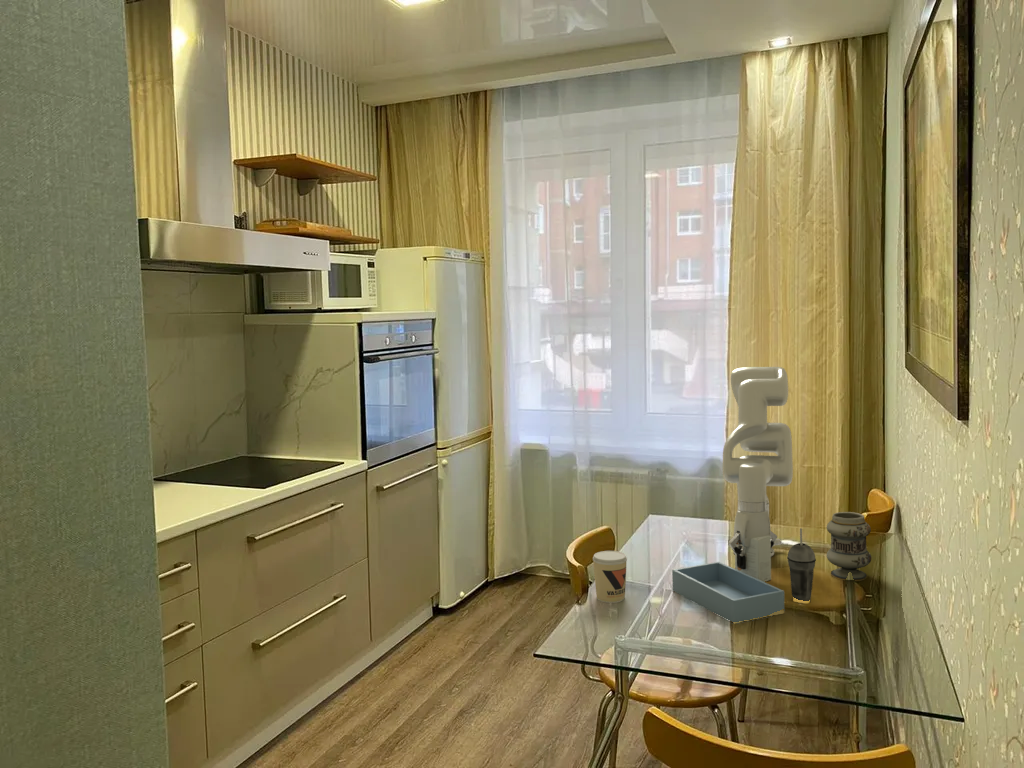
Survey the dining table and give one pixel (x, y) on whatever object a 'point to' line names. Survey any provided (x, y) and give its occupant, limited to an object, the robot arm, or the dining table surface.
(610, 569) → the cream lidded tub
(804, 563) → the beverage cup
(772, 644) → the dining table surface
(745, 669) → the dining table surface
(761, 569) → the small box
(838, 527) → the apothecary jar
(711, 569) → the tray
